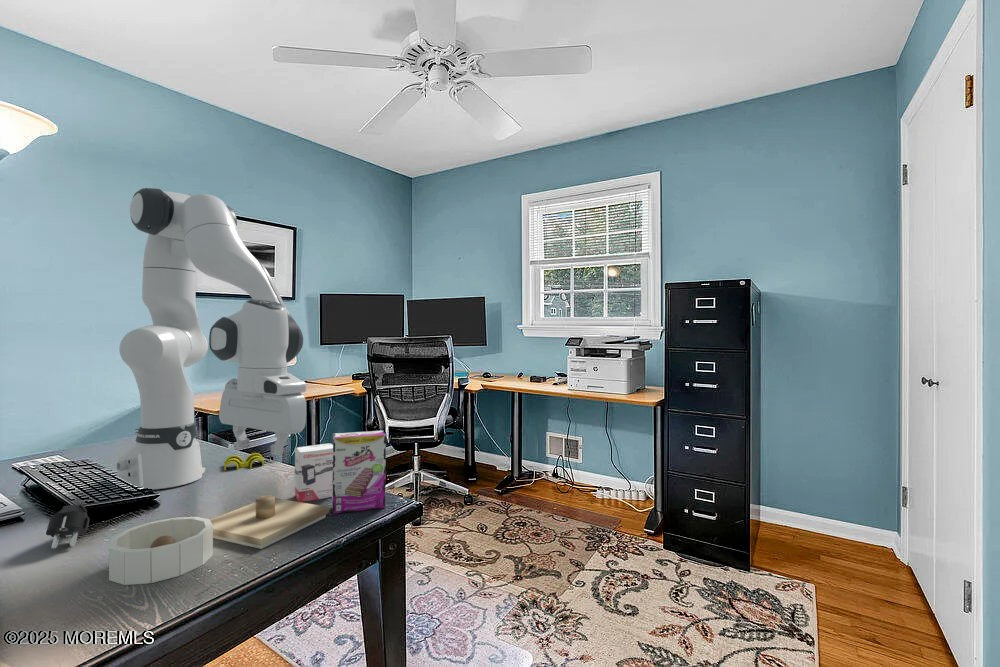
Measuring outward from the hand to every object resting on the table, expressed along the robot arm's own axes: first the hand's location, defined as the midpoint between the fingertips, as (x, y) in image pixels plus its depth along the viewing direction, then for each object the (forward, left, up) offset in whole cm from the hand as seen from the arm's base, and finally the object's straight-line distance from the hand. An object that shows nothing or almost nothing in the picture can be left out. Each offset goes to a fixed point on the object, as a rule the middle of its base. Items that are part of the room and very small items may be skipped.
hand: (259, 451), depth 96 cm
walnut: (-2, -17, -12) cm, 21 cm away
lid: (+1, +1, -14) cm, 14 cm away
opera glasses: (-36, +26, -15) cm, 47 cm away
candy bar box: (+12, +16, -15) cm, 25 cm away
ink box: (-2, +18, -15) cm, 23 cm away
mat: (+1, +1, -15) cm, 15 cm away
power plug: (-30, -15, -17) cm, 37 cm away
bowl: (-2, -17, -15) cm, 23 cm away
